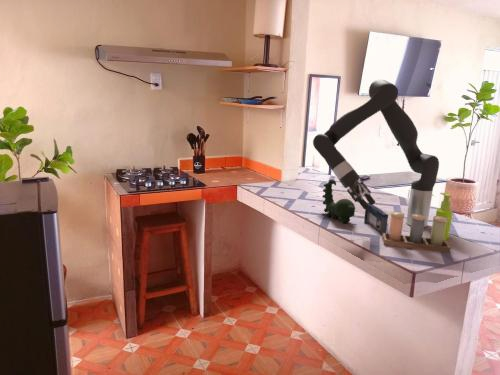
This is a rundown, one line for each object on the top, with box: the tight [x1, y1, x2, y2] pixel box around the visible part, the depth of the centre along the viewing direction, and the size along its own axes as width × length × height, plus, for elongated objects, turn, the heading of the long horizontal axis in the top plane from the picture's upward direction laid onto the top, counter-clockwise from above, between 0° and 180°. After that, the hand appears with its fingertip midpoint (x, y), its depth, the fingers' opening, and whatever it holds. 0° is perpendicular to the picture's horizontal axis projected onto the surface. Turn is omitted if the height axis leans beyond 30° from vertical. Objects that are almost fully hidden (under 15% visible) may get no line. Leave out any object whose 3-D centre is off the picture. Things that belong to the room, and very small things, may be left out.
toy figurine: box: [321, 178, 356, 224], centre depth 182 cm, size 9×19×25 cm
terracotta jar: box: [388, 211, 405, 241], centre depth 150 cm, size 5×5×12 cm
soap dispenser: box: [435, 192, 454, 241], centre depth 158 cm, size 6×7×20 cm
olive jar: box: [429, 215, 447, 246], centre depth 147 cm, size 5×5×12 cm
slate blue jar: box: [408, 214, 426, 244], centre depth 149 cm, size 5×5×12 cm
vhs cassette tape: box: [363, 202, 389, 235], centre depth 169 cm, size 18×3×10 cm, turn 4°
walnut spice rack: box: [381, 232, 452, 254], centre depth 150 cm, size 8×24×4 cm, turn 76°
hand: (370, 206), depth 155 cm, fingers open, 8 cm apart
